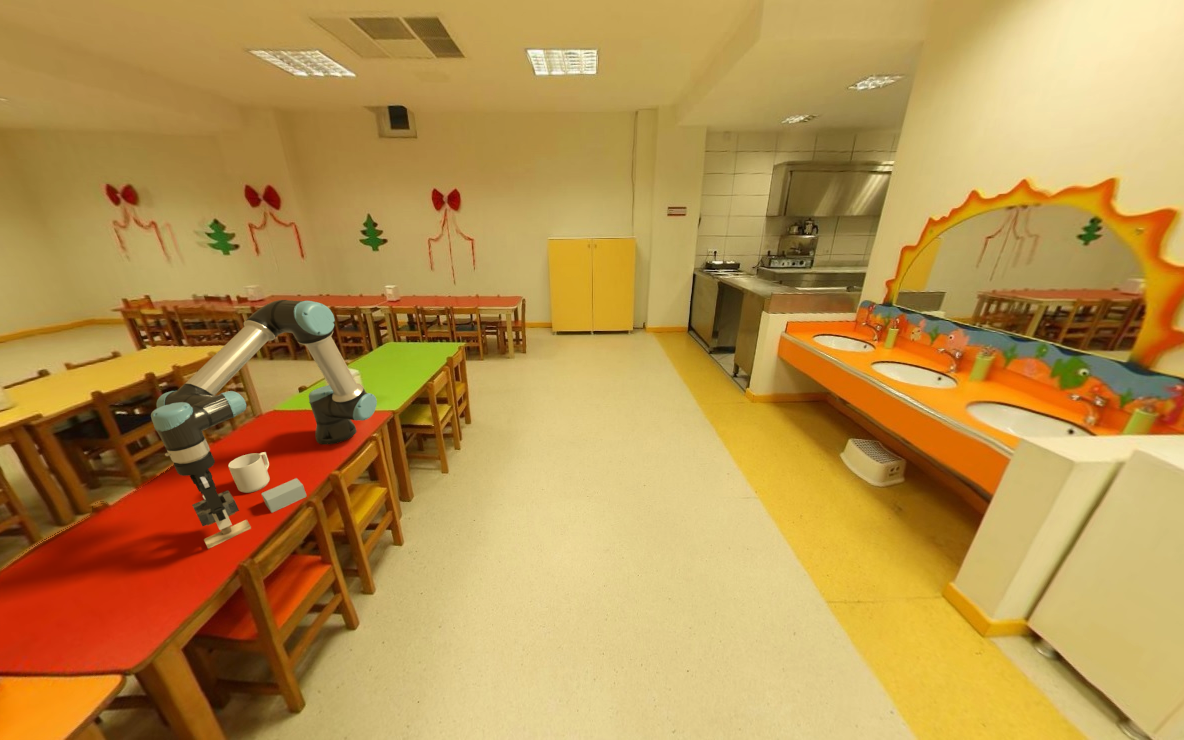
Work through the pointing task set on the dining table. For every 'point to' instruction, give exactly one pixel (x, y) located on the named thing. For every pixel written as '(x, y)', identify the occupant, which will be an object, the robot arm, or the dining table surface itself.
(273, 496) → the block
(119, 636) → the dining table surface
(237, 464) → the mug
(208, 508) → the c link
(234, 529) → the stand
